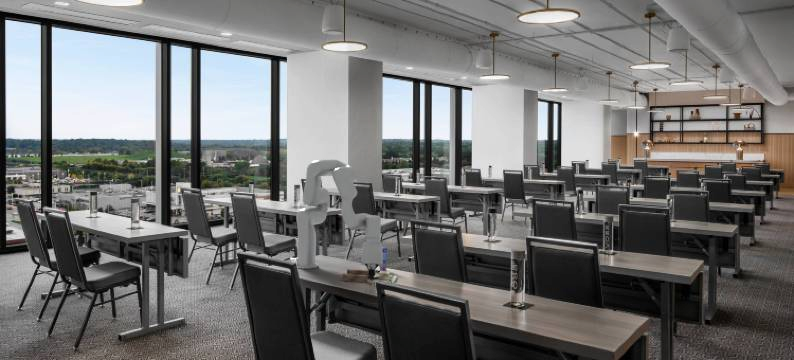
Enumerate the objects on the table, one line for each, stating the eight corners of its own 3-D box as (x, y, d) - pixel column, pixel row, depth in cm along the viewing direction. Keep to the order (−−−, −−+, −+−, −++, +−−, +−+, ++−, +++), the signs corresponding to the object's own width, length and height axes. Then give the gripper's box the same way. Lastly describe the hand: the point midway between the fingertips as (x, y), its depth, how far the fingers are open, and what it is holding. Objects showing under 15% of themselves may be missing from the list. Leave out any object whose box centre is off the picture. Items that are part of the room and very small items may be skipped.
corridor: (342, 280, 283) (342, 274, 283) (347, 275, 295) (347, 269, 294) (367, 282, 282) (367, 276, 281) (370, 276, 293) (370, 270, 293)
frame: (373, 282, 281) (373, 280, 281) (376, 276, 293) (376, 274, 293) (394, 283, 280) (394, 281, 280) (396, 277, 292) (396, 275, 292)
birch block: (378, 281, 285) (378, 273, 284) (379, 278, 290) (380, 270, 289) (388, 281, 284) (388, 273, 284) (389, 279, 289) (389, 271, 289)
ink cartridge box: (387, 270, 307) (387, 243, 305) (380, 272, 302) (381, 245, 301) (372, 267, 312) (373, 241, 311) (366, 269, 308) (366, 242, 307)
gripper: (356, 241, 283) (355, 278, 284) (386, 242, 281) (385, 279, 283) (358, 238, 290) (358, 274, 292) (388, 239, 289) (387, 276, 290)
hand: (371, 276), depth 287 cm, fingers closed
